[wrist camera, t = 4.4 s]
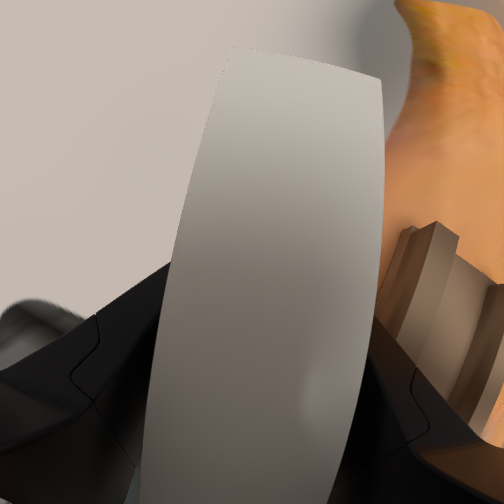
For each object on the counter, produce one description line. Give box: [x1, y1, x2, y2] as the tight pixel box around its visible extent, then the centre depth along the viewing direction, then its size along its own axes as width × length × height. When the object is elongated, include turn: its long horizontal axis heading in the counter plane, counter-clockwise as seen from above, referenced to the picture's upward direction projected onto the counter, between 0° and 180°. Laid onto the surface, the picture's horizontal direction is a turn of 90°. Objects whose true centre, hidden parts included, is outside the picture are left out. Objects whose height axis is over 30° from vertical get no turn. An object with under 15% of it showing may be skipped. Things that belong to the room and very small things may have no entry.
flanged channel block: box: [374, 221, 504, 437], centre depth 13 cm, size 15×8×4 cm, turn 153°
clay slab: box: [139, 47, 384, 504], centre depth 10 cm, size 12×4×10 cm, turn 170°
